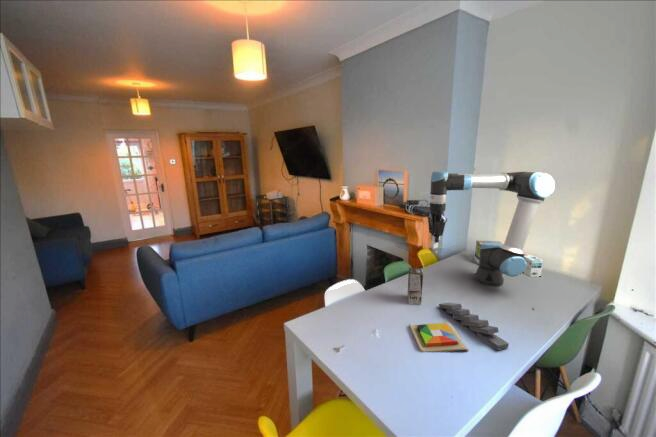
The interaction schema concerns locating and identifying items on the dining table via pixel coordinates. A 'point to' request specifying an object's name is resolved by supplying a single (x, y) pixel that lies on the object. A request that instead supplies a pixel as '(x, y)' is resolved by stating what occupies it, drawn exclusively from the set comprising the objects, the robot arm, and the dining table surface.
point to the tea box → (477, 250)
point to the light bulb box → (533, 266)
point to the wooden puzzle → (437, 337)
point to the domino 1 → (450, 306)
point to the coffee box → (415, 285)
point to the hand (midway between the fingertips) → (434, 247)
